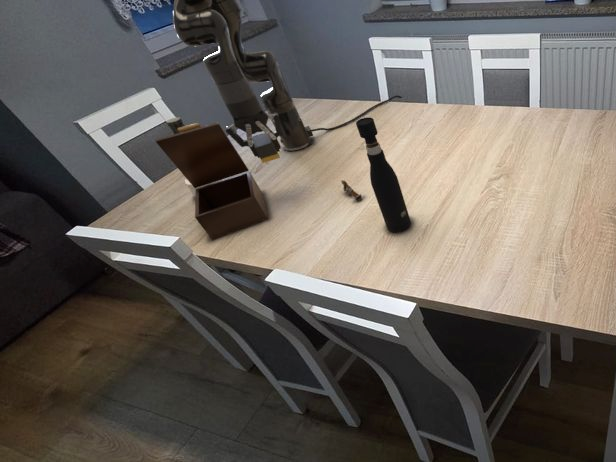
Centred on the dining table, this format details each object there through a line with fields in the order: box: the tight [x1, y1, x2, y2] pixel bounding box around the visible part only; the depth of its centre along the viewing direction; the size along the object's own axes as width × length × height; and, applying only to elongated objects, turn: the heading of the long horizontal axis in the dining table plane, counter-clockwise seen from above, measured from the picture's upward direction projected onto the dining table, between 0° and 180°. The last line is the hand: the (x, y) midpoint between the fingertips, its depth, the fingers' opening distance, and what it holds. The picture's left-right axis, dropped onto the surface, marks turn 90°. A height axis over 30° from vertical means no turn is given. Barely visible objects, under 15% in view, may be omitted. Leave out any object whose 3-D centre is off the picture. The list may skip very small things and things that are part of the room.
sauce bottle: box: [165, 117, 185, 135], centre depth 133 cm, size 7×6×20 cm
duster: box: [252, 132, 280, 164], centre depth 114 cm, size 5×8×5 cm, turn 30°
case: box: [194, 170, 269, 240], centre depth 116 cm, size 17×15×8 cm
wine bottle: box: [355, 116, 412, 234], centre depth 97 cm, size 6×6×30 cm
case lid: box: [154, 122, 250, 188], centre depth 112 cm, size 18×15×5 cm
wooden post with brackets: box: [340, 179, 363, 202], centre depth 119 cm, size 2×8×4 cm, turn 49°
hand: (269, 153), depth 116 cm, fingers closed on duster, 4 cm apart
